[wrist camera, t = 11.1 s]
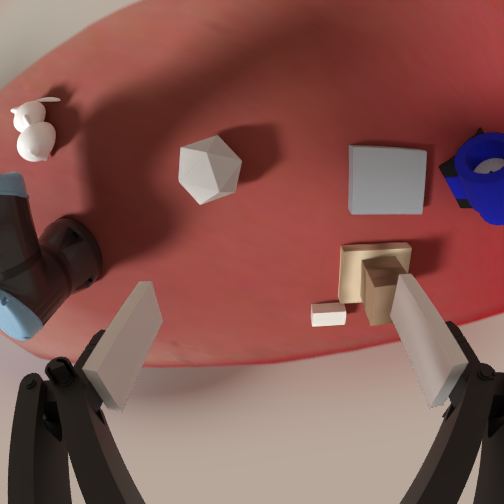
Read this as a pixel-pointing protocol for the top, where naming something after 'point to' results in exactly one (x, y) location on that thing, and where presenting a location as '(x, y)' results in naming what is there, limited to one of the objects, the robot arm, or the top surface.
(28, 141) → the white rounded figure
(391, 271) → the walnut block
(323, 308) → the white brick
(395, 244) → the oak slab
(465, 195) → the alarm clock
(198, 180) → the die
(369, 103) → the top surface
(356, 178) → the grey slab
